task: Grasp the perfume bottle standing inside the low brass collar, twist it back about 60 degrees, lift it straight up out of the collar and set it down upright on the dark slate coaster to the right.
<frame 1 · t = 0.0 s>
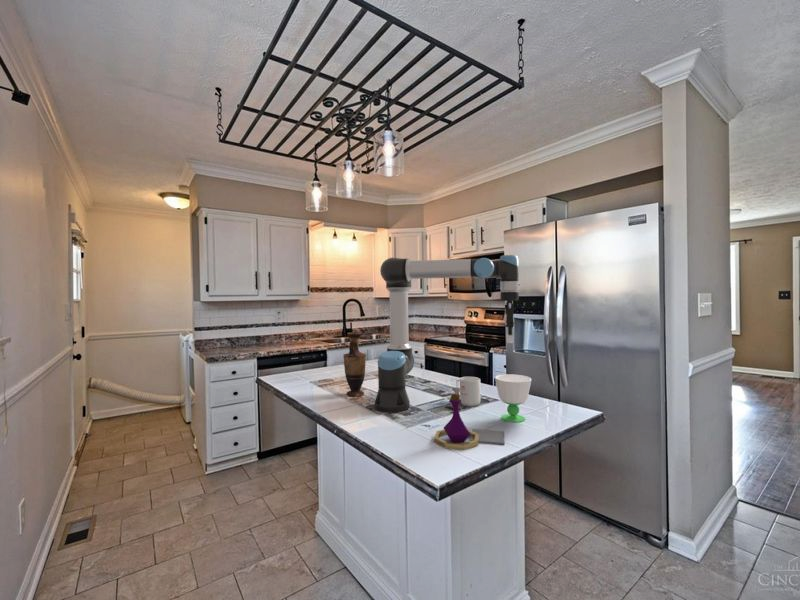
hand: (509, 340, 170), 28 cm above the countertop, fingers open, 13 cm apart
mug: (467, 403, 175), on the countertop
brass collar: (456, 440, 132), on the countertop
slate coaster: (487, 437, 134), on the countertop
perfume bottle: (456, 441, 132), resting in brass collar
cup: (513, 418, 153), on the countertop
vase: (355, 395, 191), on the countertop
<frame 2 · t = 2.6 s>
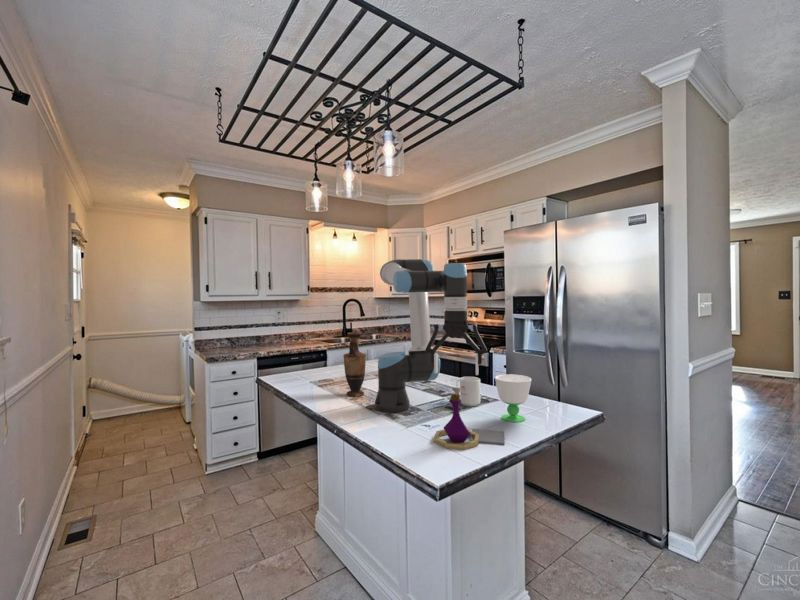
hand: (456, 373, 131), 23 cm above the countertop, fingers open, 13 cm apart
nothing on the countertop moved.
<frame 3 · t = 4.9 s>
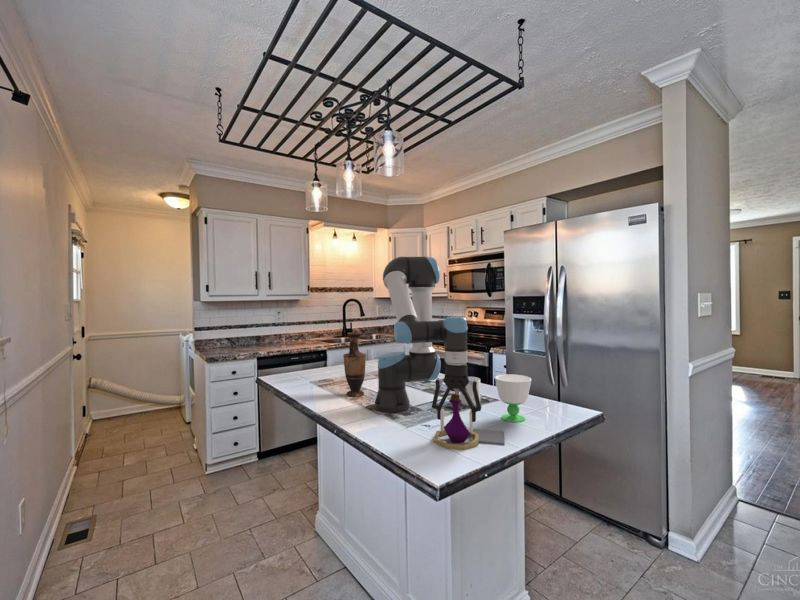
hand: (456, 430, 132), 3 cm above the countertop, fingers closed on perfume bottle, 9 cm apart
perfume bottle: (456, 440, 132), resting in brass collar, touching gripper
everything else where it was.
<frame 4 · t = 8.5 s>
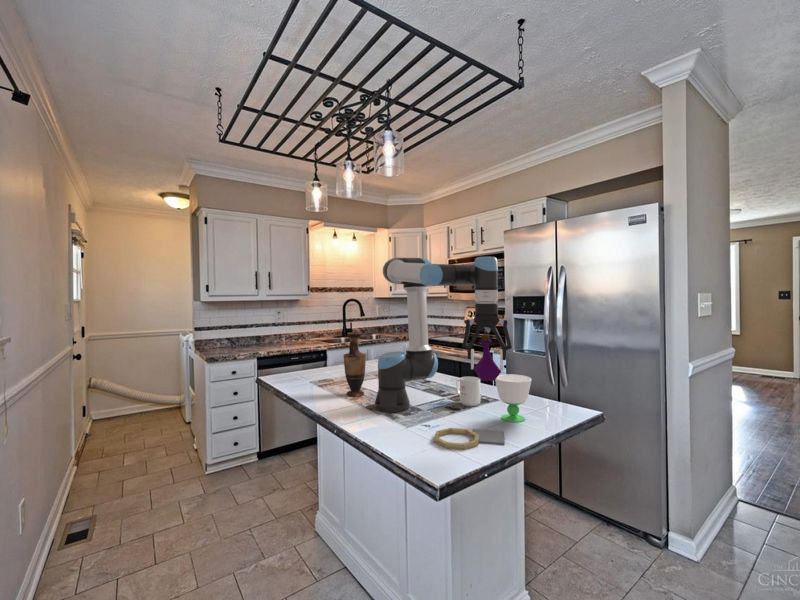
hand: (486, 369, 134), 23 cm above the countertop, fingers closed on perfume bottle, 9 cm apart
perfume bottle: (486, 379, 134), point 20 cm above the countertop, touching gripper
everything else where it was.
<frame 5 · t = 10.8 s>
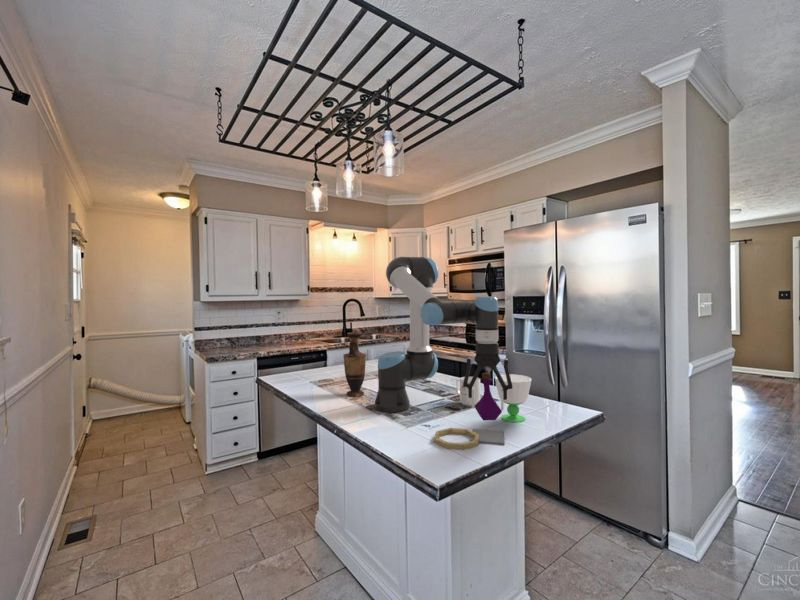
hand: (487, 408, 134), 10 cm above the countertop, fingers closed on perfume bottle, 9 cm apart
perfume bottle: (487, 418, 134), point 6 cm above the countertop, touching gripper
everything else where it was.
when the fingers open (6 cm above the countertop, at t = 12.2 s): perfume bottle drops 2 cm, resting on brass collar, slate coaster.
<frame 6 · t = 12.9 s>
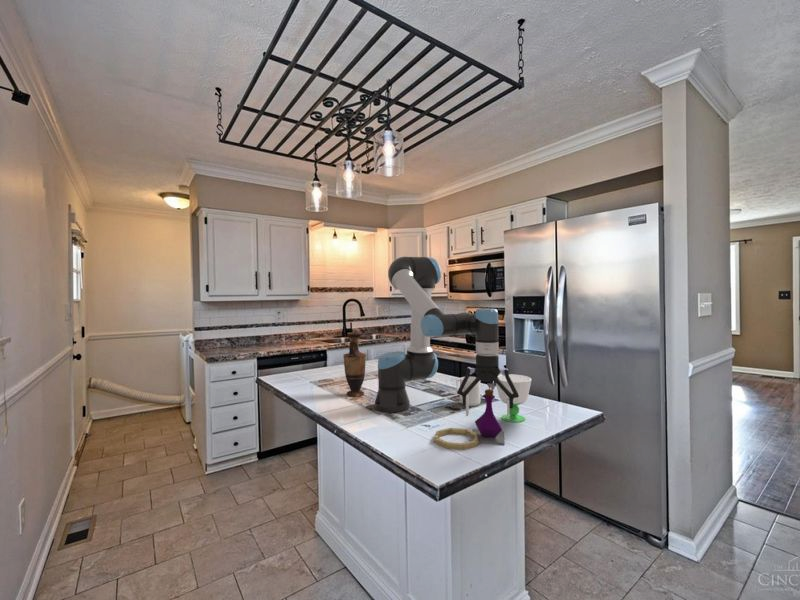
hand: (487, 416, 134), 7 cm above the countertop, fingers open, 13 cm apart
perfume bottle: (487, 435, 134), point 1 cm above the countertop, touching brass collar, slate coaster
everything else where it was.
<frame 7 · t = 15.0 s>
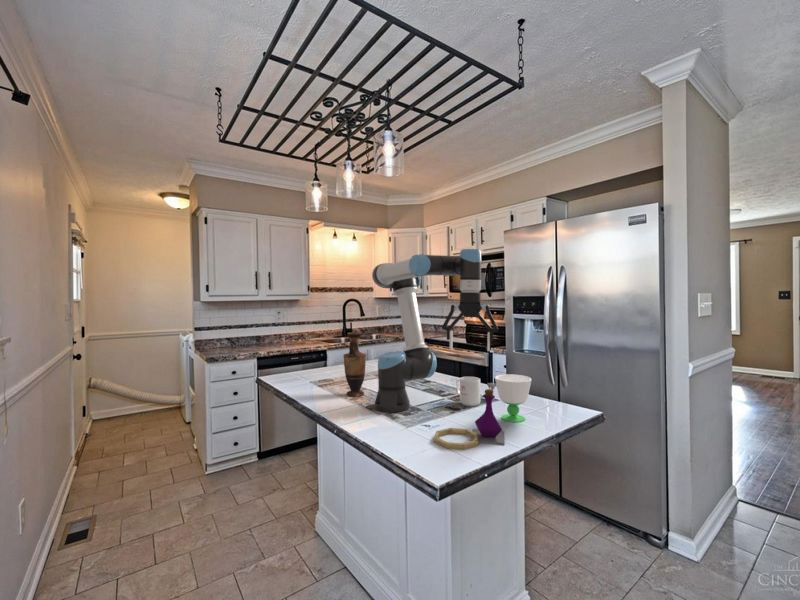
hand: (469, 349, 145), 28 cm above the countertop, fingers open, 13 cm apart
nothing on the countertop moved.
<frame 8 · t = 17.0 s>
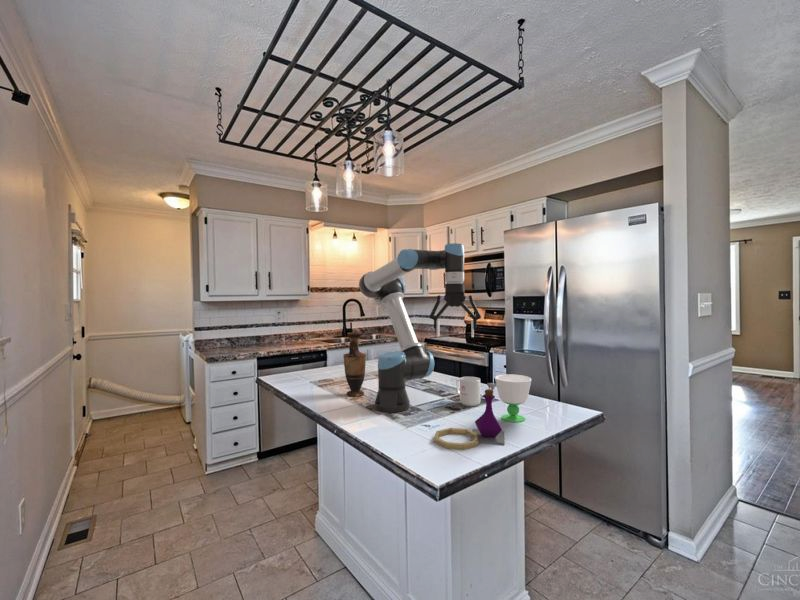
hand: (455, 336, 156), 32 cm above the countertop, fingers open, 13 cm apart
nothing on the countertop moved.
at the end: perfume bottle inside the target area on the slate coaster (0.1 cm from its centre), point 0.6 cm above the slate coaster's base; perfume bottle tilted 4°; the gripper is holding nothing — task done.
